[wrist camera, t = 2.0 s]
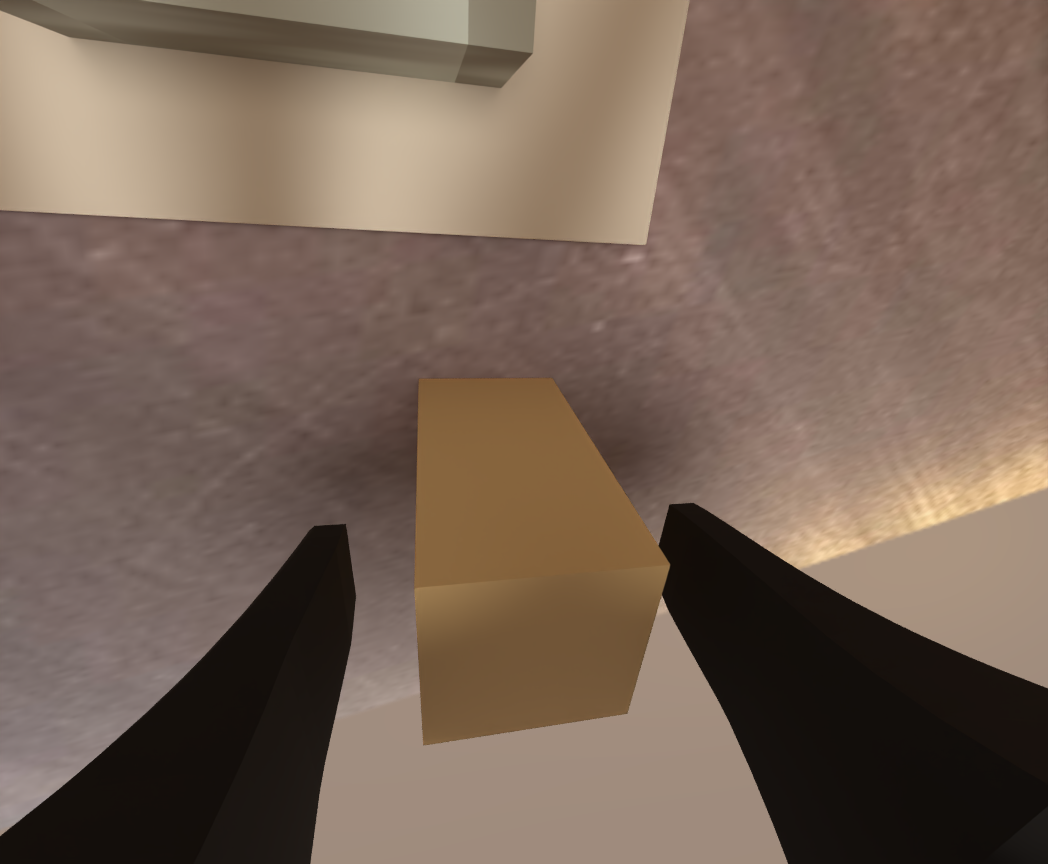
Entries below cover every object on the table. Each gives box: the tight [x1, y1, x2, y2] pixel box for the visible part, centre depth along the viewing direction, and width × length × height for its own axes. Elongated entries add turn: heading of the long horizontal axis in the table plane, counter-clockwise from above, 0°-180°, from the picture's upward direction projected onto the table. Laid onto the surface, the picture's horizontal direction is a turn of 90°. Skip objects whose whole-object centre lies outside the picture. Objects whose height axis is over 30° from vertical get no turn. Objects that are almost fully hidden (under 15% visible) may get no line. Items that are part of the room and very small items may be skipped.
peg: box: [414, 378, 670, 745], centre depth 11 cm, size 4×4×8 cm
